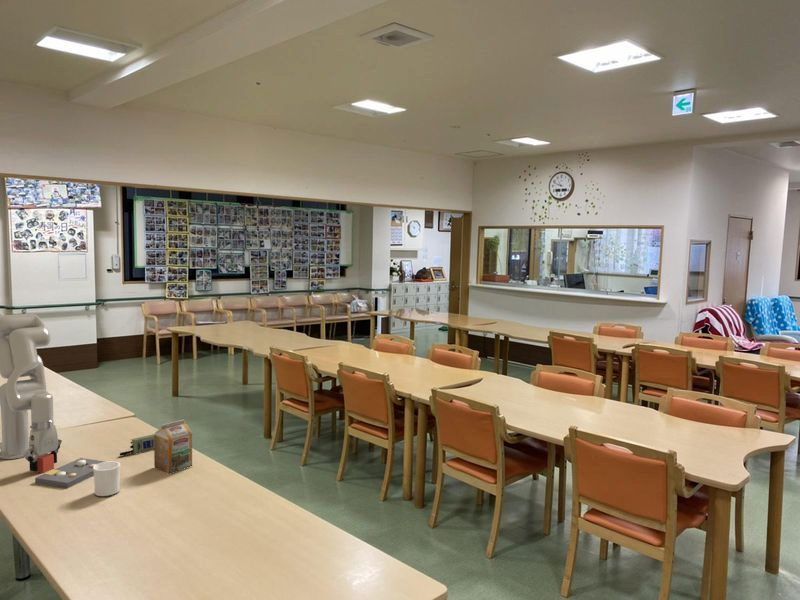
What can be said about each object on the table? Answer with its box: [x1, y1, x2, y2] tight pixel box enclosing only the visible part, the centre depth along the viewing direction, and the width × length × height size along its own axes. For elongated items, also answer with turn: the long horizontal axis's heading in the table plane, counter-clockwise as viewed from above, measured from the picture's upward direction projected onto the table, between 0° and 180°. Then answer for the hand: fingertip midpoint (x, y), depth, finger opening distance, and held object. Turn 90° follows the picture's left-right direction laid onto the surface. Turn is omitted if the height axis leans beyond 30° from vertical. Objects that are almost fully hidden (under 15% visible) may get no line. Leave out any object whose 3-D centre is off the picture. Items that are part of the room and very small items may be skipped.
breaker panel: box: [34, 457, 106, 489], centre depth 227 cm, size 15×22×3 cm
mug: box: [93, 460, 121, 499], centre depth 212 cm, size 11×9×10 cm
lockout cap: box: [33, 453, 55, 474], centre depth 231 cm, size 5×5×6 cm
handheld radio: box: [119, 433, 155, 457], centre depth 257 cm, size 7×3×25 cm
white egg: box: [77, 460, 86, 467], centre depth 232 cm, size 3×3×2 cm
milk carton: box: [153, 419, 193, 475], centre depth 237 cm, size 11×11×19 cm
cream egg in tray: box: [56, 471, 66, 476], centre depth 223 cm, size 3×3×2 cm
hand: (43, 466), depth 231 cm, fingers open, 8 cm apart
